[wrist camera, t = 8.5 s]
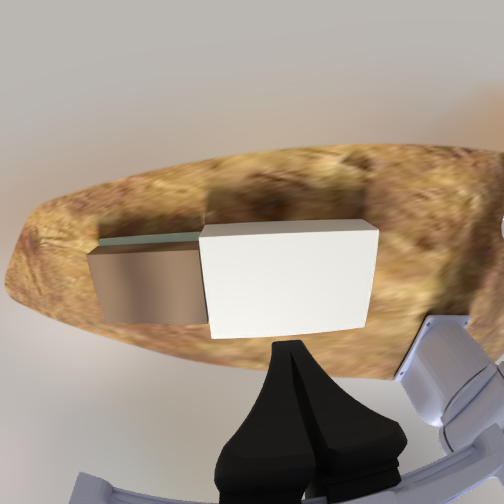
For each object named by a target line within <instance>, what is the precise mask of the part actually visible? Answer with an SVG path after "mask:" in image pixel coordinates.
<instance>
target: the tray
mask: <svg viewBox="0 0 504 504" xmlns="http://www.w3.org/2000/svg"><path fill="white" fill-rule="evenodd" d="M378 237H379V230H378V229H377V228H375V227H374V226H372V225H371V224H369V223H368V222H366V221H365V220H363V219H334V220H298V221H271V222H248V223H228V224H210V225H205V226H204V228H203V230H202V232H201V234H200V236H199V245H200V254H201V263H202V271H203V279H204V287H205V294H206V301H207V309H208V316H209V322H210V329H211V335H212V339H221V338H251V337H269V336H284V335H297V334H308V333H318V332H328V331H337V330H345V329H353V328H360V327H364V326H365V321H366V316H367V311H368V306H369V301H370V295H371V289H372V283H373V276H374V269H375V262H376V254H377V246H378Z"/></svg>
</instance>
